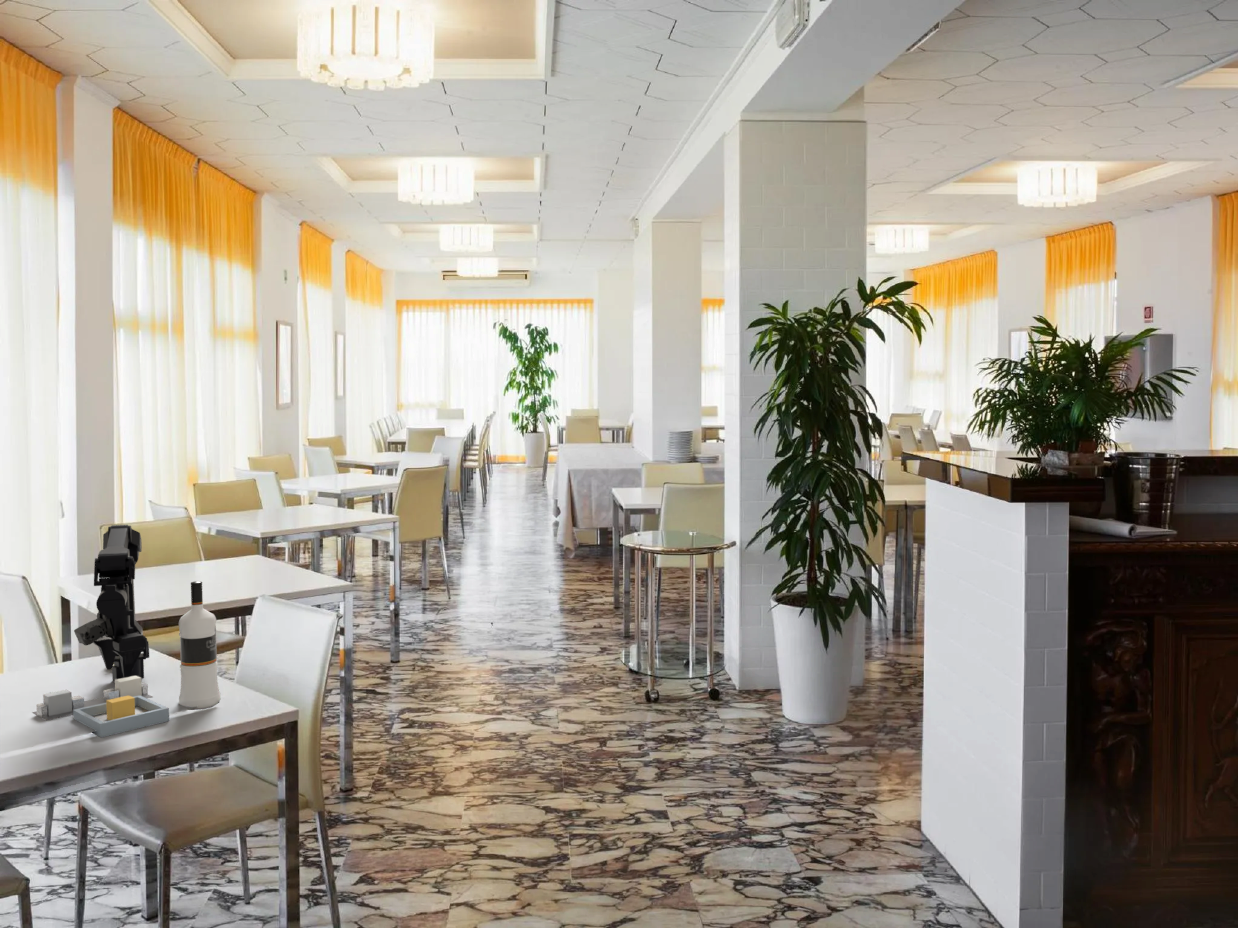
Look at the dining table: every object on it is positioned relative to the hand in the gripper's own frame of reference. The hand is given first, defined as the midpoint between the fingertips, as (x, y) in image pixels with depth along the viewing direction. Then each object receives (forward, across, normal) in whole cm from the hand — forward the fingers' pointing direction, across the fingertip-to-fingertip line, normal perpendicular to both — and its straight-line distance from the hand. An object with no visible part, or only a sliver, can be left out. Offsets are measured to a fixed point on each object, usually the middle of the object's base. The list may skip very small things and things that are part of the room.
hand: (117, 673), depth 233 cm
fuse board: (+11, -11, -1) cm, 16 cm away
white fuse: (+10, -11, +7) cm, 17 cm away
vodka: (+11, +5, +17) cm, 21 cm away
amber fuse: (+10, +4, -1) cm, 10 cm away
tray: (+10, +4, -1) cm, 11 cm away
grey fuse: (+10, -11, -9) cm, 17 cm away
